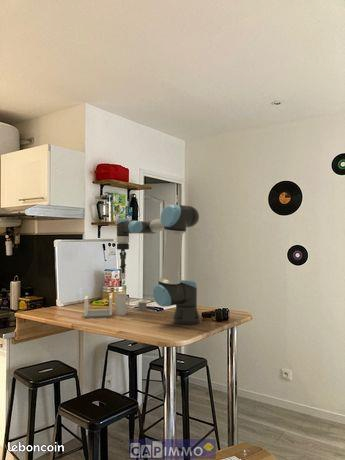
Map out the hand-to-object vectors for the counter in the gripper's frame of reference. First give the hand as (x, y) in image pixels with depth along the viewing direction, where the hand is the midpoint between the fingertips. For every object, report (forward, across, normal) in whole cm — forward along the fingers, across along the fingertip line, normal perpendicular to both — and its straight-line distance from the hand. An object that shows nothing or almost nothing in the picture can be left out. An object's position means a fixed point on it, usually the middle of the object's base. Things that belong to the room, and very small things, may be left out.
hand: (122, 277), depth 223 cm
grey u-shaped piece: (+23, +2, -15) cm, 27 cm away
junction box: (+23, -13, +13) cm, 29 cm away
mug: (+23, 0, 0) cm, 23 cm away
